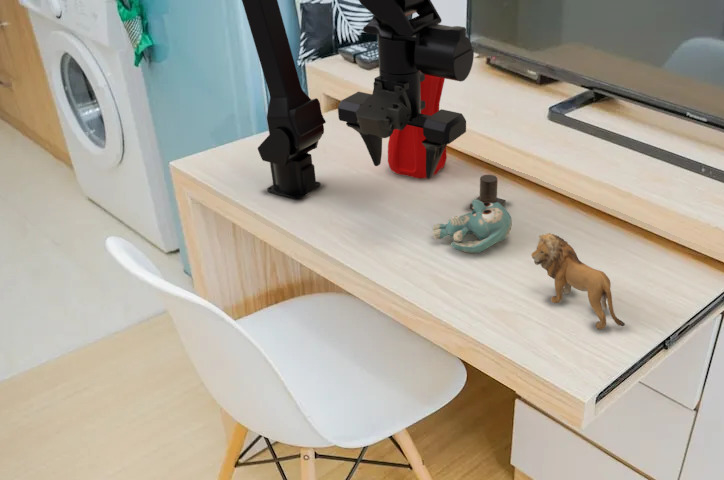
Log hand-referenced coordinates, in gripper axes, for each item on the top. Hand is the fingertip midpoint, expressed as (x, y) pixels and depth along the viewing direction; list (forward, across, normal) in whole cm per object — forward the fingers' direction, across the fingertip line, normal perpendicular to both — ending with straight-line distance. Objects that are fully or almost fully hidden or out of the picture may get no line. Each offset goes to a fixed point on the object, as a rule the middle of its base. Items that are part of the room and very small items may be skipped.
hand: (403, 171), depth 120 cm
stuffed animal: (+8, +12, -1) cm, 15 cm away
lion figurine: (+8, +32, -10) cm, 35 cm away
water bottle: (+8, -8, +16) cm, 20 cm away
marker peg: (+8, +9, +10) cm, 16 cm away
